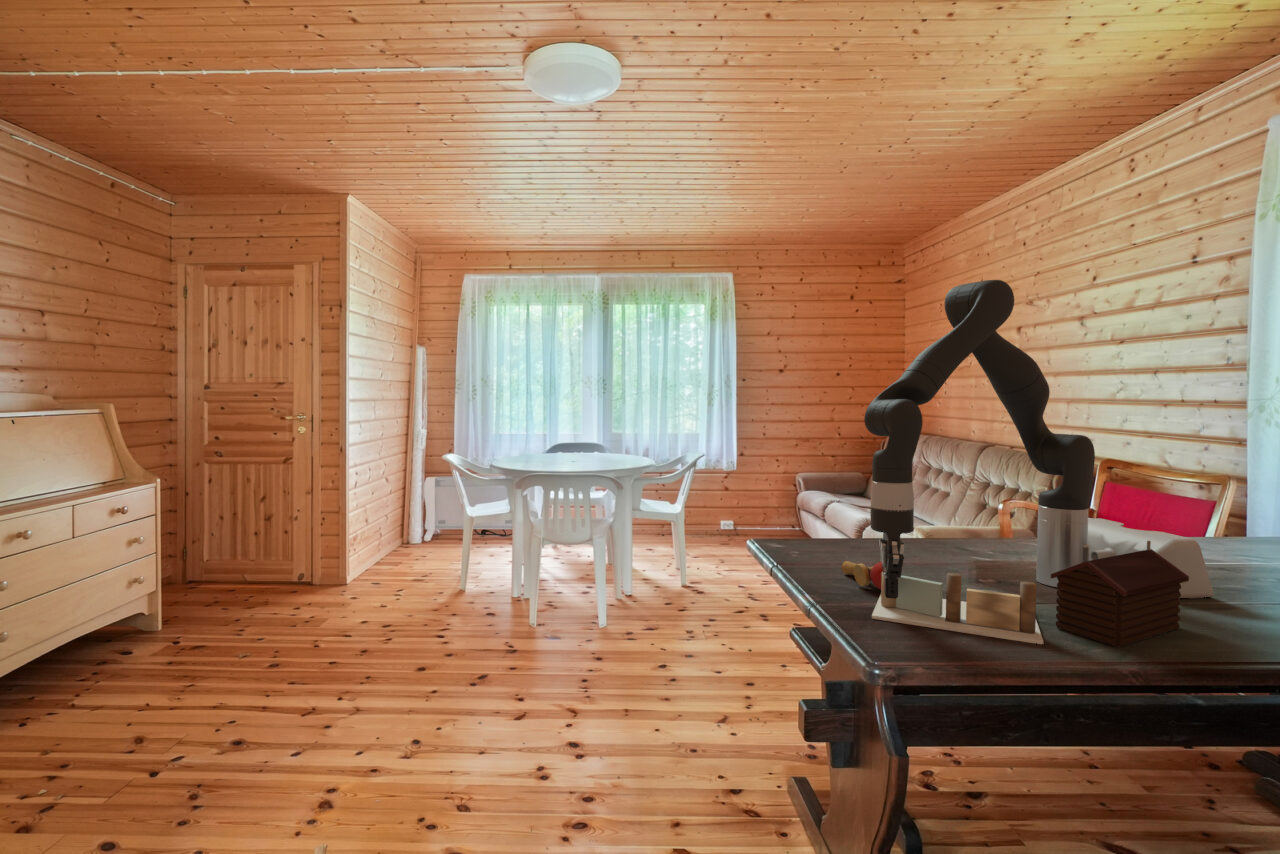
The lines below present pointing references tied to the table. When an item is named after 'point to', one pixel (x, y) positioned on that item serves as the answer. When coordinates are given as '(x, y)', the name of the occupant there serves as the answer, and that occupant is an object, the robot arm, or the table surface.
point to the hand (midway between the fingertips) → (891, 597)
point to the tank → (1175, 549)
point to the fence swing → (916, 595)
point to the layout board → (951, 623)
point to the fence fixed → (993, 606)
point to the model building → (1120, 597)
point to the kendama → (864, 573)
